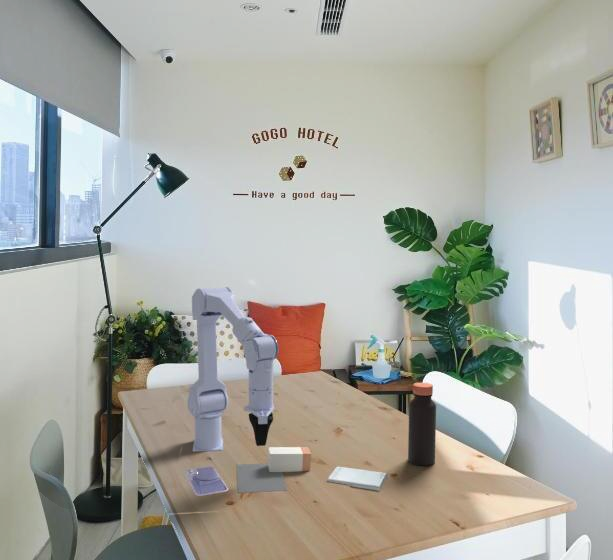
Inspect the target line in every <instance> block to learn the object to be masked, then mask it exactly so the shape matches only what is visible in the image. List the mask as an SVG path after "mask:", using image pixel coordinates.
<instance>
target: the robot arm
mask: <svg viewBox="0 0 613 560" xmlns="http://www.w3.org/2000/svg"><path fill="white" fill-rule="evenodd" d="M191 314H192V319H195V320H196V334H197V336H196V337H197V338H196V339H197V340H196V341H197V364H198V369H197V370H198V379H197V380H196V381H195V382H194V383H193V384H191V385H190V387H189V388H188V389H189V390H188V397H187V409H188V411H189V413H190V414H191V415H192V416H193V417H194V440H193V446H192V453H193V452H194V453H196V452H216V451H217V452H218V451H223V450H224V437H222V415H224V414H225V412H224V411H226V409H228V407H229V406H228V405H229V396H228V394H227V388H226V387H227V386H226V384H225V383H224V382H223V381H222V380H219V379H218V358H217V354H218V353H217V324H216V323H217V321H218V320H219V319H220V317H224V318H225V319H226V321H227V322H229V323H230V324H231V325H232V334H233V335H234V337H235V338H236V339H237V341H238V342H239V343H240V344H241V346H242V348H243V355H244V358H245V363H246V364H245V366H246V368H247V369H248V405H243V411H244V412H249V414H248V420H249V422H250V424H251V426H252V429H253V430H252V431H253V434H254V441H255V445H256V446H257V447H263V446H264V447H265V446H266V445H267V440H268V437H269V436H268V434H269V432H270V431H269V430H270V427H271V425H272V424H273V421H274V415H273V414H274V413H273V411H274V410H275V406H274V360H276V359H277V357H278V355H279V343H278V342H277V339H276V337H275V336H274V335H272V334H267V333H264V332H263V331H262V329H261V328H260V327H259V326H258V324H257V323H256V322H255V321H254V320H253V318H252V317H249V316H244V314H243V312H242V311H241V309H240V308H239V306H238V305H237V304H236V295H235V293H234V292H233V290H232V289H231V287H229V286H228V287H227V286H226V287H218V288H217V287H216V288H197V289H195V291H194V292H193V294H192V295H191Z"/></svg>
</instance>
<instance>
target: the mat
mask: <svg viewBox="0 0 613 560" xmlns="http://www.w3.org/2000/svg"><path fill="white" fill-rule="evenodd" d="M236 479H237V481H236V482H237V493H238V494H244V493H245V494H246V493H265V492H280V491H282V492H283V491H285V492H286V491H288V488H287V484H286V480H285V476H284V472H269V468H268V462H267V463H266V462H265V463H248V464H236Z"/></svg>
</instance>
